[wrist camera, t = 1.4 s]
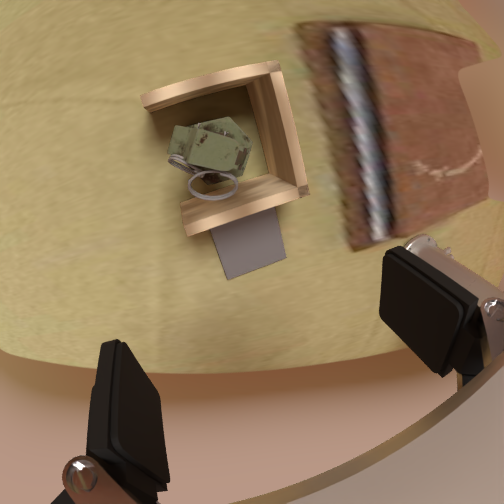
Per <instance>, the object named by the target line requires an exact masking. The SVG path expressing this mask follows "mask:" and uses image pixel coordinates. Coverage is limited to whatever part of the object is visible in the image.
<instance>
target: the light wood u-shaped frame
mask: <svg viewBox="0 0 504 504" xmlns="http://www.w3.org/2000/svg"><path fill="white" fill-rule="evenodd" d="M243 85H246V87H247V91H248V94H249V98H250V102H251V105H252V109H253V113H254V116H255V120H256V124H257V128H258V132H259V135H260V139H261V143H262V147H263V151H264V155H265V159H266V163H267V167H268V171H269V173H268V174H265V175H261V176H258V177H255V178H252V179H249V180H246V181H242V182H239V183H238V189H237V191H236V192H235V194H234V195H232V196H230V197H229V198H226V199H223V200H216V201H210V200H203V199H200V198H197V197H195V198H192V199H189V200H187V201H184V202H181V203H180V206H181V213H182V219H183V225H184V228H185V231H186V234H187V236H188V237H189V236H192V235H194V234H197V233H200V232H203V231H205V230H208V229H211V228H214V227H216V226H219V225H222V224H225V223H228V222H231V221H233V220H236V219H239V218H242V217H245V216H248V215H251V214H254V213H257V212H260V211H262V210H265V209H268V208H271V207H274V206H277V205H280V204H283V203H286V202H289V201H292V200H296V199H299V198H302V197H305V196H308V195H310V194H309V188H308V183H307V178H306V173H305V168H304V163H303V159H302V154H301V149H300V145H299V140H298V136H297V132H296V127H295V123H294V119H293V115H292V110H291V106H290V102H289V98H288V94H287V90H286V87H285V83H284V79H283V75H282V72H281V68H280V64H279V61H278V60H275V61H268V62H262V63H256V64H251V65H246V66H241V67H236V68H231V69H227V70H223V71H218V72H214V73H210V74H206V75H203V76H199V77H195V78H192V79H188V80H185V81H181V82H178V83H175V84H172V85H169V86H165V87H162V88H159V89H157V90H154V91H151V92H148V93H145V94H143V95H140V97H141V100H142V104H143V107H144V108H145V109H146V110H147V111H149V112H150V113H151V112H154V111H156V110H159V109H162V108H165V107H168V106H171V105H174V104H177V103H180V102H183V101H187V100H190V99H193V98H197V97H200V96H203V95H207V94H211V93H214V92H218V91H222V90H226V89H230V88H234V87H239V86H243ZM234 187H235V184H233V185H230V186H227V187H224V188H221V189H218V190H215V191H212V192H209V193H206V194H204V195H208V196H219V195H223V194H226V193H228V192H230V191H232V190H233V188H234Z"/></svg>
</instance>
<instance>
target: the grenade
mask: <svg viewBox="0 0 504 504" xmlns="http://www.w3.org/2000/svg"><path fill="white" fill-rule="evenodd" d="M252 143H253V142H252V141H251V140H250V138H249V137H248V136H247V135H246V134H245V133H244V132H243V131H242V130H241V128H240V127H239V126H238V125H237V124H236V123H235V122H234V121H233V120H232V119H231V118H230V117H224V118H220V119H216V120H210V121H205V122H201V123H198V124H194V125H190V126H186V127H183V126H178V125H175V127H174V131H173V134H172V137H171V141H170V144H169V148H168V152H167V153H168V154H170V155H171V156H170V157H169V159H168V162H169V163H170V164H171V165H173V166H175V167H177V168H179V169H181V170H183V171H185V172H187V173H189V174H192V175H194V176H193V177H192V178H191V179H189V180H188V190H189V191H190V192H191V194H192V195H194V196H195V197H197V198H200V199H203V200H210V201H216V200H223V199H226V198H229V197H230V196H232V195H234V194H235V192H236V191H237V189H238V181H237V179H236V177H239V176H242V175H243V172H244V169H245V167H246V164H247V160H248V157H249V154H250V151H251V147H252ZM177 157H178V158H177ZM179 158H180V159H179ZM181 159H182V160H181ZM174 160H178V161H180V162H182V163H184V164H186V165H187V166H188V167H190V168H191V169H190V168H188V167H185V166H183V165H181V164H179V163H177V162H175V161H174ZM172 162H173V163H172ZM174 163H175V164H177V165H179V166H181V167H183V168H185V169H183V168H181V167H179V166H177V165H175V164H174ZM186 169H187V170H186ZM188 170H189V171H188ZM190 171H191V172H190ZM192 172H194V173H192ZM195 173H196V174H195ZM196 177H200V178H201V179H202V180H203V181H204V182H205V183H206V184H207V185H210V184H215V183H218V182H222V181H226V180H229V179H231V180H233V181H234V183H235V187H234V188H233V190H232V191H230V192H228V193H226V194H223V195H219V196H208V195H203V194H200V193H197V192H196V191H195V190H193V189H192V187H191V182H192V180H193V179H195V178H196Z"/></svg>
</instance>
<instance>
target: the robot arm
mask: <svg viewBox="0 0 504 504" xmlns="http://www.w3.org/2000/svg"><path fill="white" fill-rule="evenodd" d="M449 253H451V248H450V247H447V248H445V249H444V250H442V249H440V248H439V247H437V243H436V241H435V240H434V239H433V238H432V237H431V236H429V235H426V234H422V235H418V236H416V237H414V238H413V239H411V240H410V241H409V242H408V243H407V244H406V245H405V246H404V247H402V246H397V247H394V248H392V249H389V250H387V251H386V253H385V256H384V257H383V264H382V282H381V295H380V306H379V315H380V317H381V319H382V320H383V321H384V322H385V323H386V324H387V325H388V326H389V327H390V328H391V329H392V330H393V331H394V332H395V333H396V334H397V335H398V336H399V337H400V338H401V339H402V340H403V341H404V342H405V344H406V345H407V346H408V347H409V348H410V349H411V350H412V351H413V352H414V353H415V354H416V355H417V356H418V357H419V358H420V359H421V360H422V361H423V362H424V363H425V364H426V365H427V366H428V367H429V368H430V369H431V370H432V371H433V372H434V373H438V374H439V375H440V376H441V377H442V378H443V377H444V376H446V375H447V374H448V373H450V372H451V371H452V369H453V368H454V369H455V370H456V372H457V392H456V393H455V394H454V395H453V396H451V397H450V398H449V399H447V400H446V401H445V402H444V403H442V404H441V405H440V406H438V407H437V408H436V409H434V410H433V411H432V412H430V413H429V414H427V415H426V416H424V417H423V418H422V419H420V420H419V421H417V422H416V423H414V424H413V425H411V426H410V427H408V428H407V429H405V430H403V431H402V432H400V433H399V434H397V435H395V436H394V437H392V438H390V439H389V440H387V441H386V442H384V443H382V444H380V445H378V446H377V447H375V448H373V449H371V450H369V451H367V452H366V453H364V454H362V455H360V456H358V457H356V458H354V459H352V460H350V461H348V462H346V463H344V464H342V465H340V466H337V467H335V468H333V469H331V470H328V471H326V472H324V473H321V474H319V475H317V476H314V477H312V478H309V479H307V480H304V481H302V482H299V483H296V484H294V485H291V486H288V487H285V488H282V489H279V490H277V491H273V492H270V493H267V494H264V495H260V496H257V497H253V498H250V499H246V500H242V501H238V502H234V503H230V504H504V291H502V290H500V289H499V288H497V287H496V286H494V285H493V284H491V283H490V282H488V281H487V280H485V279H484V278H482V277H481V276H479V275H478V274H476V273H474V272H473V271H471V270H470V269H468V268H467V267H465V266H464V265H462V264H460V263H459V262H457V261H456V260H454V257H453V255H452V254H449ZM447 254H449V255H447ZM62 481H63V485H64V487H65V489H64V490H63V491H62V492H61V494H60V495H59V496H58V497H57V498H56V499H55V500H54V501H53V502H52V503H51V504H160V503H159V502H158V501H157V500H158V497H157V492H162V491H168V490H167V484H166V483H169V482H170V474H169V468H168V461H167V454H166V447H165V439H164V431H163V422H162V412H161V401H160V396H159V393H158V391H157V390H156V388H155V387H154V385H153V384H152V382H151V381H150V379H149V378H148V376H147V375H146V373H145V372H144V370H143V369H142V367H141V366H140V364H139V363H138V361H137V360H136V358H135V356H134V355H133V353H132V352H131V350H130V348H129V347H128V345H127V344H126V343H125V342H122V343H121V341H120V340H118V339H115V340H112V341H108V342H104V343H102V345H101V349H100V355H99V361H98V367H97V374H96V381H95V385H94V386H93V388H92V393H91V401H90V410H89V420H88V432H87V447H86V456H82V455H80V456H77V457H74V458H73V459H71V460H70V461H69V462H68V463H67V464H66V465H65V467H64V470H63V474H62Z"/></svg>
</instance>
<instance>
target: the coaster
mask: <svg viewBox="0 0 504 504" xmlns="http://www.w3.org/2000/svg"><path fill="white" fill-rule="evenodd" d="M210 231H211V234H212V237H213V240H214V243H215V245H216V248H217V251H218V254H219V257H220V260H221V263H222V265H223V268H224V271H225V274H226V277H227V279H231V278H234V277H237V276H239V275H242V274H245V273H247V272H250V271H253V270H255V269H258V268H261V267H263V266H266V265H269V264H271V263H274V262H277V261H279V260H282V259H285V258H286V253H285V249H284V245H283V240H282V236H281V231H280V227H279V223H278V219H277V214H276V210H275V206H274V207H271V208H268V209H265V210H262V211H260V212H257V213H254V214H251V215H248V216H245V217H242V218H239V219H236V220H233V221H231V222H228V223H225V224H222V225H219V226H216V227H214V228H211V229H210Z"/></svg>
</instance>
